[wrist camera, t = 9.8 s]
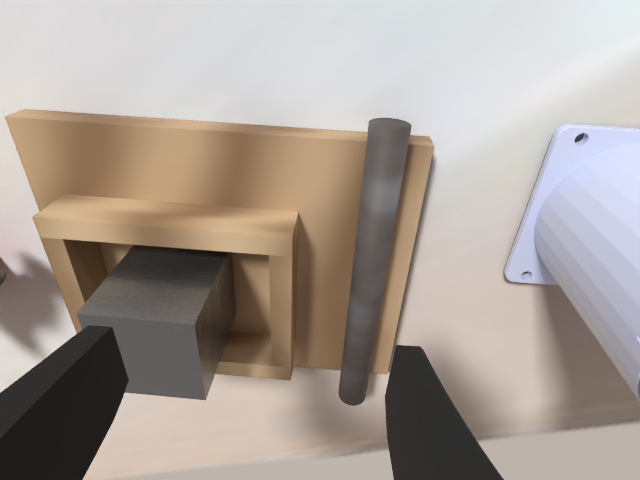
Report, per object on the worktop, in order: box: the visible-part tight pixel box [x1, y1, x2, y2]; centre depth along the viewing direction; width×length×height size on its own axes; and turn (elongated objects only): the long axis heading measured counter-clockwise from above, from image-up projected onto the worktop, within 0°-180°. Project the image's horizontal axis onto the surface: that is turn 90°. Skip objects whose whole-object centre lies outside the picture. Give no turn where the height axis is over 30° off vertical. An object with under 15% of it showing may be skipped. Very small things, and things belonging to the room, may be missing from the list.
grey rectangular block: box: [76, 245, 236, 400], centre depth 19 cm, size 4×4×6 cm
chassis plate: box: [5, 109, 434, 405], centre depth 20 cm, size 18×16×3 cm
